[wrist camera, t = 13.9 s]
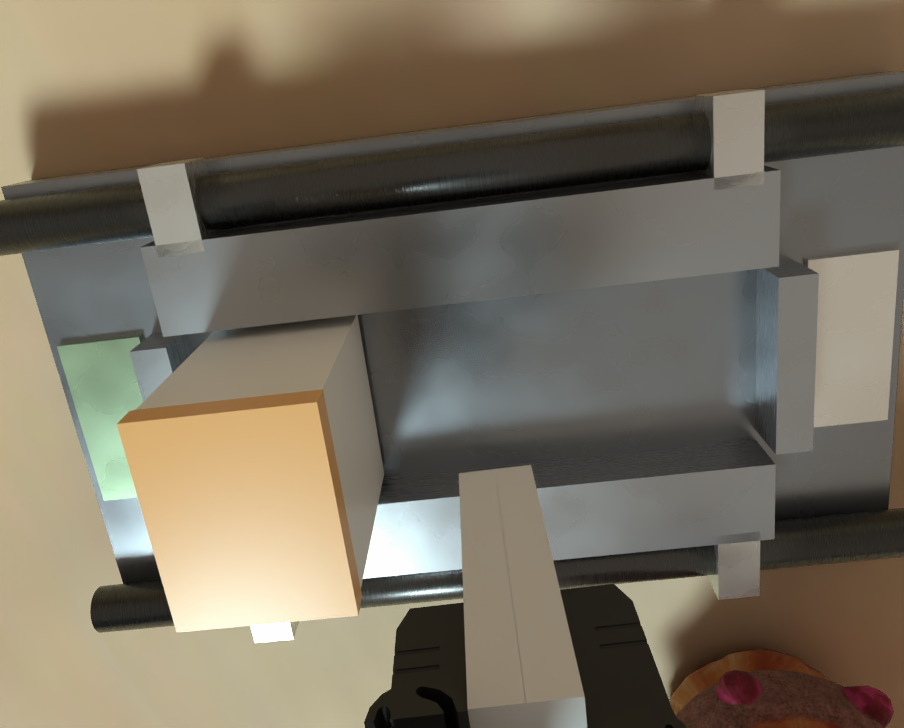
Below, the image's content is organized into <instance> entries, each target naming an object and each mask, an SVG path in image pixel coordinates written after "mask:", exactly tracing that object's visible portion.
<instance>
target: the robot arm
mask: <svg viewBox="0 0 904 728" xmlns="http://www.w3.org/2000/svg"><path fill="white" fill-rule="evenodd" d="M459 495H460V521H461V548H462V575H463V601H464V603H456V604H447V605H439V606H430V607H421V608H412V609H410V610H409V611H408V613H407V614H406V616H405V617H404V619H403V620H402V622H401V623H400V625H399V626H398V628H397V631H396V642H395V656H394V665H393V676H392V687H391V689H390V690H389V691H387V692H385V693H383V694H382V695H381V696H380V697H379V698H378V699H377V700H376V701H375V702H374V703H373V705H372V706H371V707H370V708H369V711H368V714H367V716H366V719H365V722H364V724H365V728H687V727H686V726H685V724H684V723H683V722H681V721H680V720H679V719H677V717H676V715H675V713H674V712H673V710H672V707H671V705H670V702H669V699H668V697H667V694H666V691H665V688H664V686H663V683H662V680H661V678H660V675H659V672H658V669H657V667H656V664H655V661H654V659H653V656H652V653H651V650H650V648H649V645H648V644H647V639H646V637H645V634H644V631H643V629H642V626H641V625H640V620H639V618H638V615H637V612H636V610H635V607H634V604H633V601H632V600H631V599H630V598H629V597H627V596H626V595H625V594H624V593H623V592H622V591H621V590H620V589H619V588H618V587H616V586H615V585H614V584H606V585H598V586H589V587H580V588H571V589H562V590H560V588H559V584H558V579H557V575H556V571H555V566H554V562H553V558H552V553H551V549H550V545H549V540H548V536H547V532H546V527H545V523H544V519H543V514H542V510H541V506H540V501H539V497H538V493H537V488H536V484H535V480H534V475H533V471H532V467H531V465H526V466H517V467H509V468H500V469H492V470H483V471H475V472H466V473H459Z"/></svg>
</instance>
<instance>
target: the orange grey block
mask: <svg viewBox="0 0 904 728" xmlns="http://www.w3.org/2000/svg"><path fill="white" fill-rule="evenodd" d="M117 428H118V431H119V435H120V438H121V442H122V445H123V448H124V452H125V455H126V459H127V462H128V466H129V469H130V473H131V476H132V480H133V483H134V487H135V490H136V494H137V497H138V500H139V504H140V507H141V511H142V514H143V518H144V521H145V525H146V528H147V532H148V535H149V539H150V542H151V546H152V549H153V553H154V556H155V559H156V563H157V566H158V570H159V573H160V577H161V580H162V584H163V587H164V591H165V594H166V598H167V601H168V605H169V608H170V611H171V615H172V618H173V622H174V625H175V629H176V632H177V633H178V632H188V631H199V630H210V629H220V628H231V627H242V626H253V625H263V624H274V623H285V622H295V621H306V620H317V619H327V618H338V617H349V616H358V615H359V610H360V605H361V599H362V592H361V585H362V580H363V576H364V571H365V566H366V561H367V556H368V551H369V546H370V541H371V536H372V531H373V526H374V521H375V516H376V511H377V506H378V502H379V497H380V492H381V487H382V482H383V477H384V469H383V463H382V458H381V452H380V446H379V440H378V434H377V428H376V422H375V416H374V410H373V404H372V398H371V392H370V386H369V380H368V374H367V368H366V363H365V357H364V351H363V345H362V339H361V333H360V327H359V321H358V315H351V316H343V317H334V318H325V319H316V320H308V321H299V322H290V323H281V324H273V325H264V326H255V327H246V328H238V329H229V330H220V331H214V332H213V333H212V334H211V335H210V336H209V337H208V338H207V339H206V340H205V341H204V342H203V343H202V344H201V345H200V346H199V347H198V348H197V349H196V350H195V351H194V352H193V353H192V354H191V355H190V356H189V357H188V358H187V359H186V360H185V361H184V362H183V363H182V364H181V365H180V366H179V367H178V368H177V369H176V370H175V371H174V372H173V373H172V374H171V375H170V376H169V377H168V378H167V379H166V380H165V381H164V382H163V383H162V384H161V385H160V386H159V387H158V388H157V389H156V390H155V391H154V392H153V393H152V394H151V395H150V396H149V397H148V398H147V399H146V400H145V401H144V402H143V403H142V404H141V405H140V406H139V407H138V408H137V409H136V410H130V411H129V412H128V413H127V414H126V415H125V416H124V417H123V418H122V419H121V420H120V421H119V422H118V423H117Z"/></svg>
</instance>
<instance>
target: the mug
mask: <svg viewBox="0 0 904 728" xmlns="http://www.w3.org/2000/svg"><path fill="white" fill-rule="evenodd" d="M670 705H671V707H672V710H673V712H674V713H675V715H676V717H677V719H679V720H680V721H681V722H683V723H684V724H685V726H686V727H687V728H885V727H886V726H887V725H888V723H889V722H890V720H891V717H892V715H893V712H894V711H893V708H892V705H891V701H890V699H889V698H888V697H887V695H885V694H884V693H883V692H881V691H880V690H877V689H875V688H872V687H869V686H854V687H843V686H841V685H839V684H836V683H834V682H832V681H830V680H828V678H827V677H826V676H824V675H822V674H821V673H819V672H818V671H816V670H814V669H812V668H810V667H808V666H806V665H805V664H804V663H803V662H802V661H801V660H800V659H799V658H797V657H793V656H790V655H787V654H784V653H780V652H777V651H772V650H751V651H743V652H737V653H731V654H727V655H726V656H725V657H723V658H722V659H720V660H718V661H715V662H711V663H709V664H707V665H705V666H704V667H702V668H700V669H698V670H696V671H695V672H693V673H691V674H689V675H688V676H687V677H686V678H685V679H684V681H683V682H682V683H681V684H680V686H679V687H678V688H677V689H676V691H675V692H674V693H673V694H672V696H671V699H670Z"/></svg>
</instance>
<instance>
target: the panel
mask: <svg viewBox="0 0 904 728" xmlns="http://www.w3.org/2000/svg"><path fill="white" fill-rule="evenodd" d="M1 188H2V191H3V194H4V198H5V200H2V201H0V256H2V255H10V254H18V253H22V256H23V259H24V263H25V266H26V269H27V272H28V275H29V279H30V282H31V285H32V288H33V292H34V295H35V298H36V301H37V305H38V308H39V311H40V314H41V318H42V321H43V324H44V327H45V331H46V334H47V337H48V340H49V344H50V347H51V350H52V353H53V357H54V360H55V363H56V366H57V370H58V373H59V376H60V379H61V383H62V386H63V389H64V392H65V396H66V399H67V402H68V405H69V409H70V412H71V415H72V418H73V422H74V425H75V428H76V431H77V435H78V438H79V441H80V444H81V448H82V451H83V454H84V457H85V461H86V464H87V467H88V470H89V474H90V477H91V480H92V483H93V487H94V490H95V493H96V496H97V500H98V503H99V506H100V509H101V513H102V516H103V519H104V522H105V526H106V529H107V532H108V535H109V539H110V542H111V545H112V548H113V552H114V555H115V558H116V561H117V565H118V568H119V571H120V574H121V578H122V581H123V584H119V585H109V586H101V587H99V588H98V589H97V590H96V591H95V593H94V595H93V598H92V602H91V620H92V624H93V626H94V628H95V630H96V631H98V632H112V631H122V630H133V629H143V628H154V627H165V626H175V625H174V622H173V618H172V615H171V611H170V608H169V605H168V601H167V598H166V594H165V591H164V587H163V584H162V580H161V577H160V573H159V570H158V566H157V563H156V559H155V556H154V553H153V549H152V546H151V542H150V539H149V535H148V532H147V528H146V525H145V521H144V518H143V514H142V511H141V507H140V504H139V500H138V497H137V494H136V490H135V487H134V483H133V480H132V476H131V473H130V469H129V466H128V462H127V459H126V455H125V452H124V448H123V445H122V442H121V438H120V435H119V431H118V428H117V423H118V422H119V421H120V420H121V419H122V418H123V417H124V416H125V415H126V414H127V413H128V412H129V411H130V410H136V409H137V408H138V407H139V406H140V405H141V404H142V403H143V402H144V401H145V400H146V399H147V398H148V397H149V396H150V395H151V394H152V393H153V392H154V391H155V390H156V389H157V388H158V387H159V386H160V385H161V384H162V383H163V382H164V381H165V380H166V379H167V378H168V377H169V376H170V375H171V374H172V373H173V372H174V371H175V370H176V369H177V368H178V367H179V366H180V365H181V364H182V363H183V362H184V361H185V360H186V359H187V358H188V357H189V356H190V355H191V354H192V353H193V352H194V351H195V350H196V349H197V348H198V347H199V346H200V345H201V344H202V343H203V342H204V341H205V340H206V339H207V338H208V337H209V336H210V335H211V334H212V333H213V332H214V331H220V330H229V329H238V328H246V327H255V326H264V325H273V324H281V323H290V322H299V321H308V320H316V319H325V318H334V317H343V316H351V315H358V321H359V327H360V333H361V339H362V345H363V351H364V357H365V363H366V368H367V374H368V380H369V386H370V392H371V398H372V404H373V410H374V416H375V422H376V428H377V434H378V440H379V446H380V452H381V458H382V463H383V469H384V477H383V482H382V487H381V492H380V497H379V502H378V506H377V511H376V516H375V521H374V526H373V531H372V536H371V541H370V546H369V551H368V556H367V561H366V566H365V571H364V576H363V580H362V585H361V592H362V599H361V605H360V608H367V607H377V606H388V605H398V604H409V603H420V602H430V601H441V600H452V599H462V598H463V575H462V548H461V521H460V495H459V473H466V472H475V471H483V470H492V469H500V468H509V467H517V466H526V465H531V467H532V471H533V475H534V480H535V484H536V488H537V493H538V497H539V501H540V506H541V510H542V514H543V519H544V523H545V527H546V532H547V536H548V540H549V545H550V549H551V553H552V558H553V562H554V566H555V571H556V575H557V579H558V584H559V588H560V589H568V588H579V587H589V586H598V585H606V584H622V583H632V582H643V581H653V580H664V579H675V578H685V577H696V576H707V577H708V579H709V581H710V583H711V585H712V587H713V589H714V591H715V594H716V596H717V598H718V600H722V599H733V598H744V597H755V596H760V570H770V569H781V568H792V567H802V566H813V565H823V564H834V563H845V562H855V561H866V560H877V559H887V558H898V557H904V508H899V509H889V510H888V504H889V490H890V476H891V462H892V448H893V434H894V420H895V406H896V392H897V378H898V364H899V349H900V335H901V321H902V307H903V293H904V71H895V72H882V73H874V74H866V75H858V76H851V77H843V78H835V79H827V80H819V81H811V82H803V83H795V84H787V85H779V86H772V87H764V88H756V89H740V90H732V91H724V92H716V93H708V94H700V95H695V96H693V97H685V98H677V99H669V100H661V101H653V102H645V103H637V104H629V105H621V106H614V107H606V108H598V109H590V110H582V111H574V112H566V113H558V114H550V115H542V116H535V117H527V118H519V119H511V120H503V121H495V122H487V123H479V124H471V125H463V126H456V127H448V128H440V129H432V130H424V131H416V132H408V133H400V134H392V135H385V136H377V137H369V138H361V139H353V140H345V141H337V142H329V143H321V144H313V145H306V146H298V147H290V148H282V149H274V150H266V151H258V152H250V153H242V154H234V155H227V156H219V157H211V158H204V157H203V158H195V159H187V160H179V161H171V162H164V163H158V164H154V165H148V166H140V167H132V168H124V169H116V170H108V171H100V172H92V173H84V174H76V175H69V176H61V177H53V178H45V179H37V180H30V181H25V182H21V183H16V184H12V185H8V186H3V187H1ZM298 622H299V621H295V622H285V623H274V624H263V625H253V626H251V630H252V634H253V638H254V642H255V643H257V642H268V641H279V640H290V639H294V636H295V632H296V629H297V626H298Z"/></svg>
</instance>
